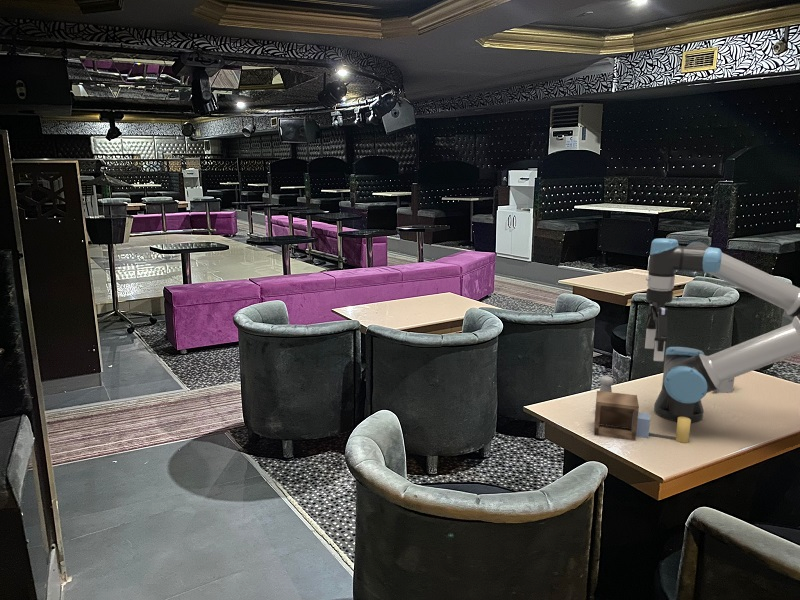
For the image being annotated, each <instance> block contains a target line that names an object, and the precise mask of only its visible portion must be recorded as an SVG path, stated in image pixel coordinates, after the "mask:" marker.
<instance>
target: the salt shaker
mask: <svg viewBox="0 0 800 600" xmlns="http://www.w3.org/2000/svg"><path fill="white" fill-rule="evenodd" d="M599 384H601V385H600V389H599V391H604V392H612V391H613V390H612V389H613V388H612V385H614V378H613V377H611V376H608V375H602V376H601V377H599ZM594 408H596V405H595V406H594Z"/></svg>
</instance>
